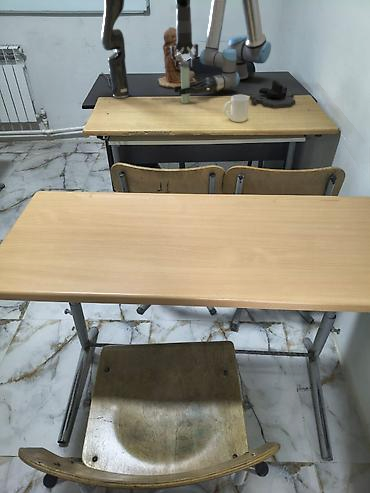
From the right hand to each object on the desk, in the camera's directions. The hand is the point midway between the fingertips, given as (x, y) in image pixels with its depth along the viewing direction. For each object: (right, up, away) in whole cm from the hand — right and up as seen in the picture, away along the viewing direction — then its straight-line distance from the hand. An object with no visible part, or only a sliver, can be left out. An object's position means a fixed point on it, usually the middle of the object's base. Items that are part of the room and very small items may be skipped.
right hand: (176, 91), depth 189 cm
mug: (+29, -21, -16) cm, 39 cm away
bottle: (+5, -3, +6) cm, 9 cm away
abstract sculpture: (+52, -4, +3) cm, 53 cm away
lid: (+4, +12, -6) cm, 14 cm away
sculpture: (0, +20, +35) cm, 40 cm away
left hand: (+4, +10, -5) cm, 12 cm away
